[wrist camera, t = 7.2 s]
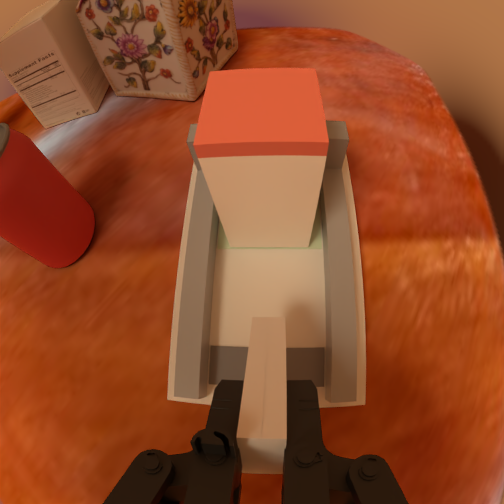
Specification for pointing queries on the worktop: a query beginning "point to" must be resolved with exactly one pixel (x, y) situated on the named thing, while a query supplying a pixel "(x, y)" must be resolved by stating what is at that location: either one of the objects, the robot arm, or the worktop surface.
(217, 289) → the grey tray
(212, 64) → the decorative jar
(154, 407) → the worktop surface
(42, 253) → the beer can
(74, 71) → the supplement box
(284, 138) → the block
